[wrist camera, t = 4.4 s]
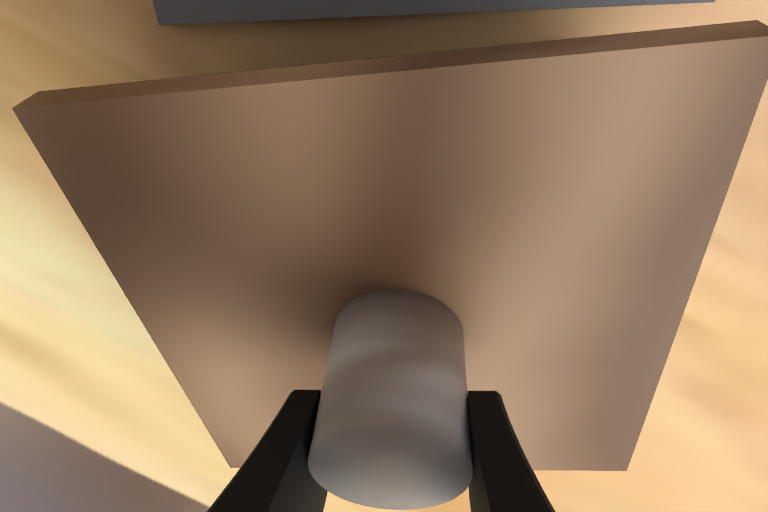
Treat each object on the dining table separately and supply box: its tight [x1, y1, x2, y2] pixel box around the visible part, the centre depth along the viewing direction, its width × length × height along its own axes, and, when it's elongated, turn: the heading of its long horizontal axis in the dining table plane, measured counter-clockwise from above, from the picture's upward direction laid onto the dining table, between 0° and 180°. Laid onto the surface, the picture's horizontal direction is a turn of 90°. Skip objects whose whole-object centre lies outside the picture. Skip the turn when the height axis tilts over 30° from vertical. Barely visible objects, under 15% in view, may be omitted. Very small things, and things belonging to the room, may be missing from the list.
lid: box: [12, 20, 768, 510], centre depth 11 cm, size 13×13×4 cm
